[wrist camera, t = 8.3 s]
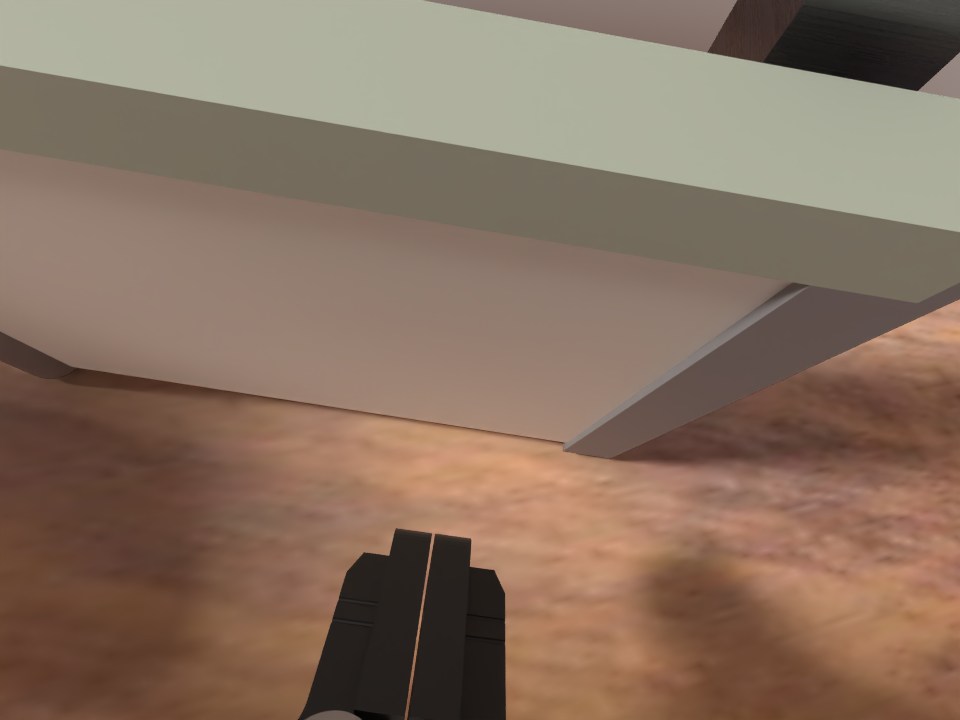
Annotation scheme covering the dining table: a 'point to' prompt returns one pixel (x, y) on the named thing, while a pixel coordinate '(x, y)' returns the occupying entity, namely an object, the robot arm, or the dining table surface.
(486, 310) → the gate
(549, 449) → the dining table surface
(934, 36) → the gate frame
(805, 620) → the dining table surface
